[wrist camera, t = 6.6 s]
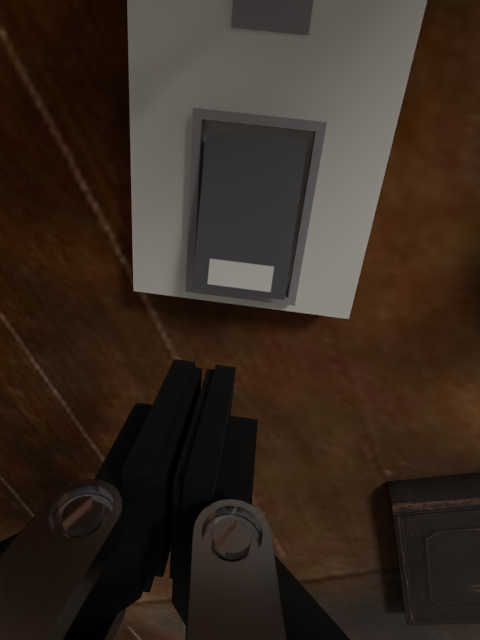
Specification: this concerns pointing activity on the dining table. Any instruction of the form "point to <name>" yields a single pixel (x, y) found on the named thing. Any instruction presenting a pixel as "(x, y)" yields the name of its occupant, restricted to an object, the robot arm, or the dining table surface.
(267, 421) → the dining table surface
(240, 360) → the dining table surface
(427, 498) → the hardcover book
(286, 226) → the panel
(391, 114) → the control panel
